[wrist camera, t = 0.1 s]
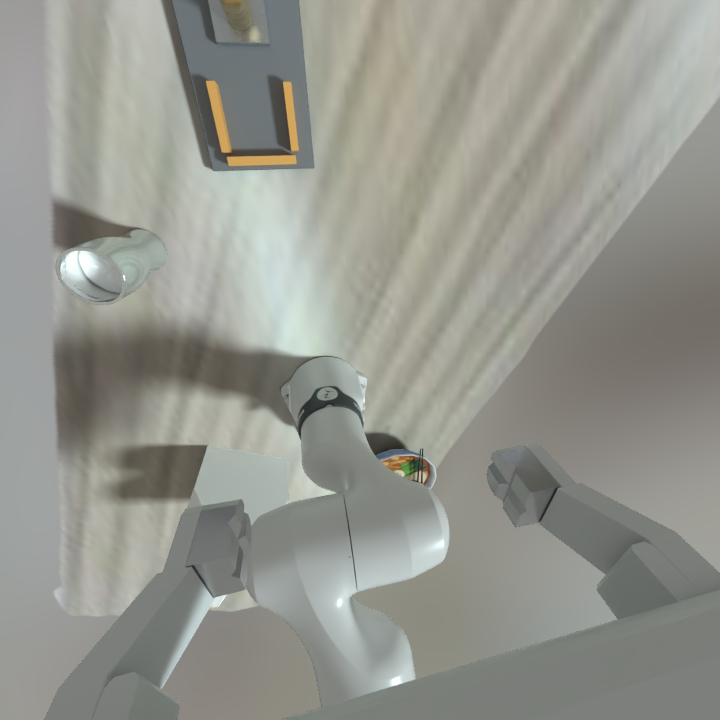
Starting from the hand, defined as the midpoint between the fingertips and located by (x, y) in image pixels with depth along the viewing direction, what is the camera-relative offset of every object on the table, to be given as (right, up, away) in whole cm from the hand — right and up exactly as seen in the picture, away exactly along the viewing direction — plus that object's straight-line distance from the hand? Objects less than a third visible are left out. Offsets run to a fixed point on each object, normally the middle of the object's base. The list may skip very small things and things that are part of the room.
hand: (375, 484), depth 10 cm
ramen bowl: (+7, -25, +75) cm, 79 cm away
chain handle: (-15, +47, +23) cm, 54 cm away
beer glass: (-34, +21, +37) cm, 54 cm away
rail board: (-15, +42, +28) cm, 53 cm away
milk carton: (-30, -24, +66) cm, 77 cm away
